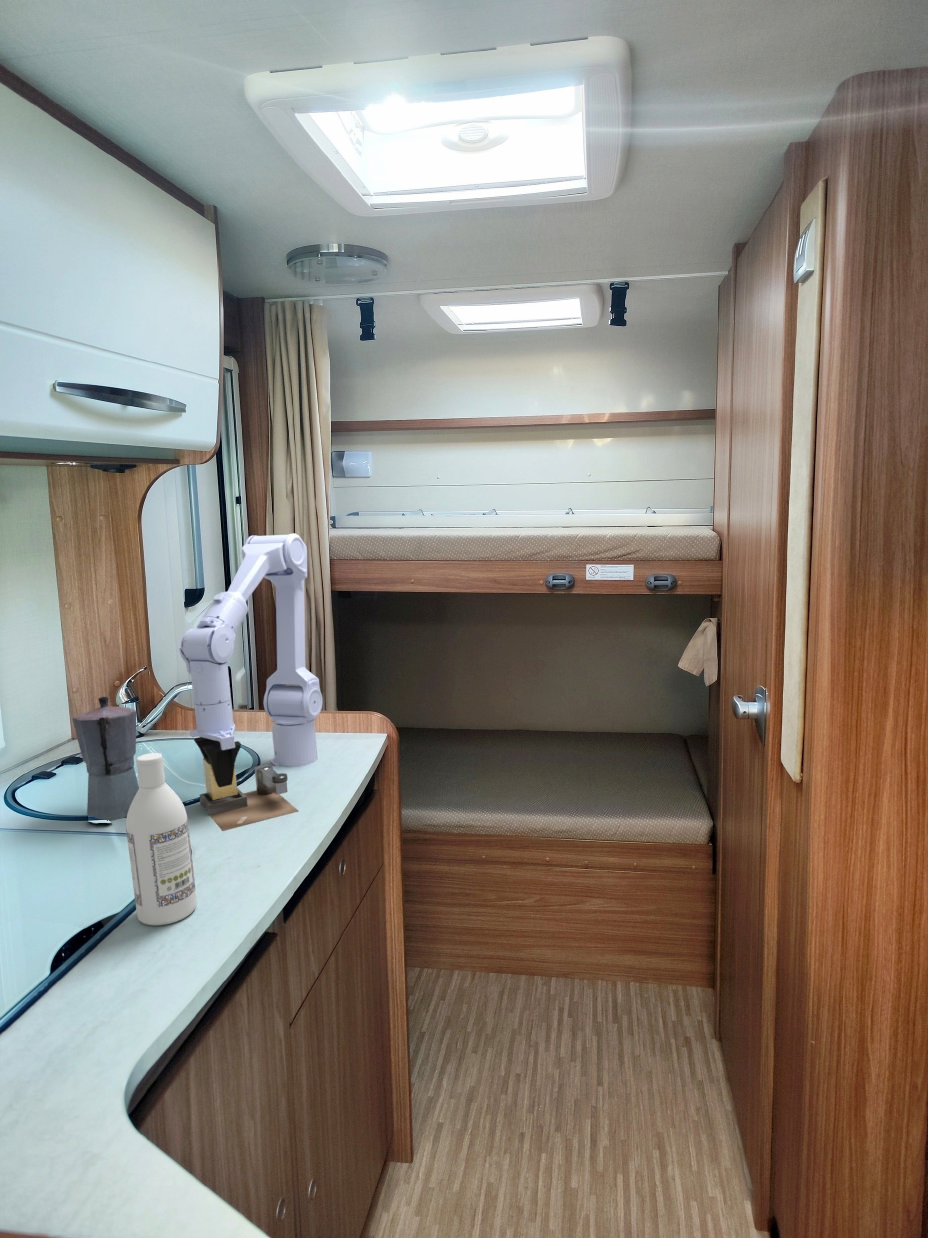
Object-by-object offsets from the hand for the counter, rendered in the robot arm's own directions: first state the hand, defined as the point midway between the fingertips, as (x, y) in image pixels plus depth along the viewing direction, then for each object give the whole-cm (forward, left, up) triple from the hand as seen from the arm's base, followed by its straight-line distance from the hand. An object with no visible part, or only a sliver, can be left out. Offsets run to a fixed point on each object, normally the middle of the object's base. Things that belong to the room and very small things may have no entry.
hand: (221, 781), depth 129 cm
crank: (+3, +7, -4) cm, 9 cm away
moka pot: (-9, -15, -5) cm, 18 cm away
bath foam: (+30, -15, -5) cm, 33 cm away
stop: (0, 0, -2) cm, 2 cm away
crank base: (+4, +3, -5) cm, 7 cm away
